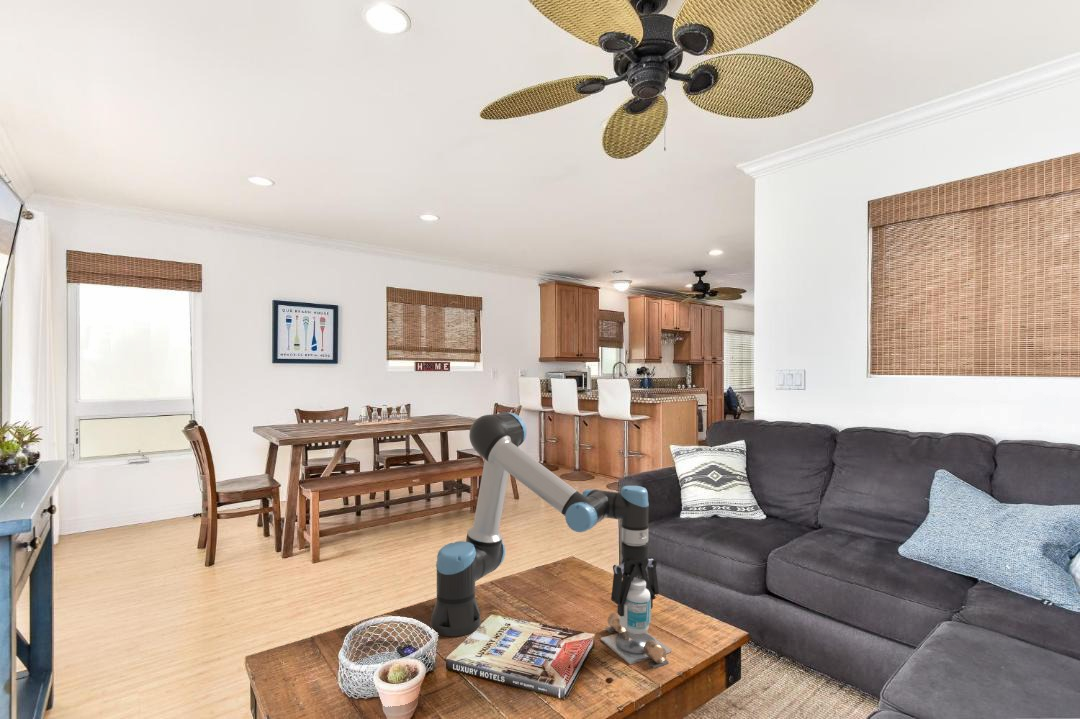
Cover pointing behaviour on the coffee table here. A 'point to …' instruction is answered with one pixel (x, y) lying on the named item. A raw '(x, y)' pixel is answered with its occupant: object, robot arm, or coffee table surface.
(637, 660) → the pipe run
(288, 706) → the coffee table surface
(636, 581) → the pill bottle
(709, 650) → the coffee table surface
